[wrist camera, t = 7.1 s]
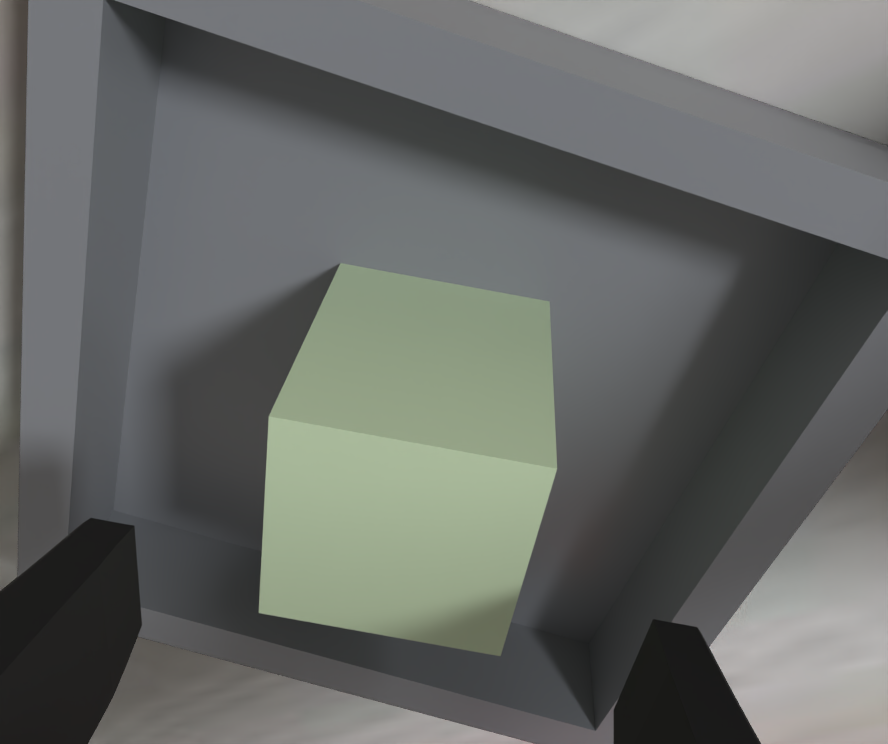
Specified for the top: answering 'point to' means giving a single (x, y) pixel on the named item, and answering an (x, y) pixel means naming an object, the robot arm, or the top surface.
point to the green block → (410, 461)
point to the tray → (447, 260)
